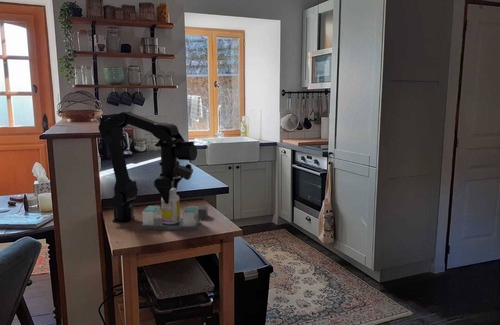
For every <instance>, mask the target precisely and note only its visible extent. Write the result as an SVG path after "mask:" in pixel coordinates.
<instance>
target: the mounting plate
mask: <svg viewBox="0 0 500 325" xmlns="http://www.w3.org/2000/svg"><path fill="white" fill-rule="evenodd" d="M198 207H199V206H198ZM198 207H195V206H186V207H185V209H184V210H183V212H182V217H180V221H179V222H178V223H176V224H164V223H163V222H162V217H161V206H160V205H148V206H147V207H146V208H144V209H143V210H142V211H141V213H142V224H141V227H140V229H141V230H144V231H145V230H153V231H157V230H158V231H187V232H188V231H193V232H195V231H196V230H197V229H198V226H199V225H200V223H201V219H198Z"/></svg>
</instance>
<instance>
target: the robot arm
mask: <svg viewBox="0 0 500 325" xmlns="http://www.w3.org/2000/svg"><path fill="white" fill-rule="evenodd" d="M128 125H130V126H133V127H134V128H138V129H140V130H142V131H146V132H148V133H150V134H151V135H152V136H153V137H154V138H156V139H158V142H156V144H154V147H160V162H159V166H160V167H161V168H160V170H161V172H160V173H159V176H158V177H157V178H156V179H154V181H153V187H154V188H155V189H156V190H157V192H158V193H159V195H160V196H161V198H163V200H164V202H165V204H168V203H169V197H170V190H171V189H172V188H176V189H177V190H178V185H179V182H180V181H181V180H182V179H184V180H186V181H189V180H190V179H191V178H192V174H193V173H194V168H192V164H189V163H187V164H186V165H180V161H192V162H193V161H195V160H196V159H197V156H198V150H197V147H196V145H195V142H194V140H193V141H191V140H189V141H185V139H184V138H183V136H182V134H181V133H180V132H179V128H178V126H177V125H175V124H173V123H168V122H159V121H155V120H152V119H150V118H147V117H143V116H141V115H138V114H135V113H133V112H131V111H121V112H120V113H118V114H117V115H114V116H112V117H110V118H108V119H106V120H105V119H104V120H102V121H101V122H100V123H99V124H98V131H99V133H100V136H101V138H102V140H103V141H104V142H105V143H106V145H107V147H108V151H109V156H110V160H111V165H112V168H113V173H114V177H115V178H114V179H115V183H114V187H113V191H114V195H113V197H112V198H111V199H110V200H109V201H108V202H109V203H108V204H109V206H110V207H111V208H113V219H112V222H115V223H128V222H130V221H131V220H132V219H133V218H134V217H135V215H134V207H133V206H132V205H133V203H135V200H136V197H137V196H138V191H139V189H138V186H137V182H136V180H134V181H133V180H132V179H131V177H130V176H129V171H128V167H127V164H126V158H125V155H124V150H123V145H122V139H123V135H124V131H123V129H125V128H126V127H127V126H128ZM179 160H180V161H179Z"/></svg>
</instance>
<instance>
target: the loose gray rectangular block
mask: <svg viewBox="0 0 500 325" xmlns="http://www.w3.org/2000/svg"><path fill="white" fill-rule="evenodd" d="M194 207H198V219H200V220H207V218H208V216H209V215H208V214H209V206H194Z"/></svg>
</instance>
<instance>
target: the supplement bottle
mask: <svg viewBox="0 0 500 325" xmlns="http://www.w3.org/2000/svg"><path fill="white" fill-rule="evenodd" d="M177 190H178V188H177V189H176V188H172V189H171V190H170V197H169V203H168V204H165V202H164V200H163V198H162V197H161V199H160V201H161V202H160V203H161V218H162V222H163V223H164V224H176V223H178V222H179V221H180V218H181V212H180V211H181V209H180V208H181V204H180V202H181V200H180V199H181V198H180V196H179V194H177Z"/></svg>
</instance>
